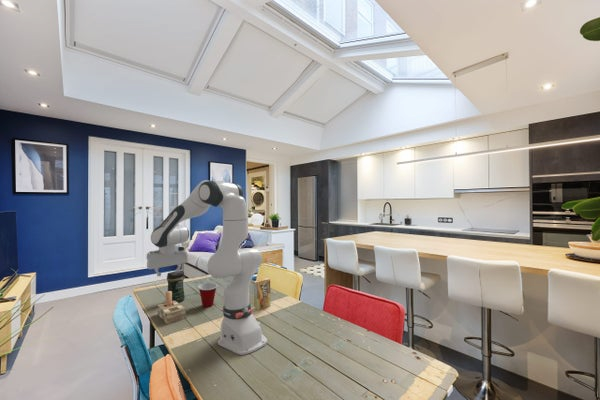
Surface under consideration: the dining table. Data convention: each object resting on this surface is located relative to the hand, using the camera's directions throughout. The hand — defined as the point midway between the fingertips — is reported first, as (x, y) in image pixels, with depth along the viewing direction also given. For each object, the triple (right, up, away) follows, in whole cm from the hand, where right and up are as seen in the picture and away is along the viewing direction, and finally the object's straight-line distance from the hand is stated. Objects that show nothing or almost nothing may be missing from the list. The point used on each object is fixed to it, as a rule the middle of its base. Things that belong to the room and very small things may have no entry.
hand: (168, 274), depth 139 cm
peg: (0, -22, 0) cm, 22 cm away
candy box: (+51, -21, +7) cm, 55 cm away
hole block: (+3, -22, -3) cm, 22 cm away
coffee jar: (-5, -22, +18) cm, 29 cm away
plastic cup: (+18, -22, +11) cm, 30 cm away
